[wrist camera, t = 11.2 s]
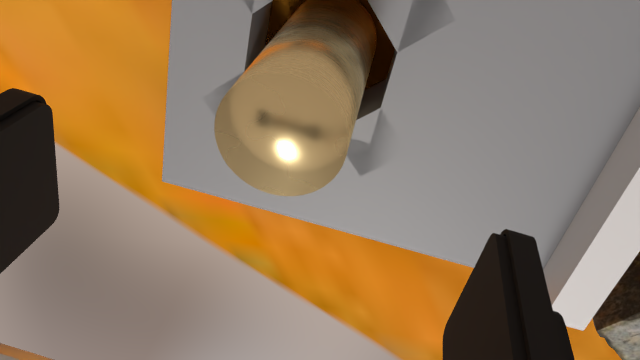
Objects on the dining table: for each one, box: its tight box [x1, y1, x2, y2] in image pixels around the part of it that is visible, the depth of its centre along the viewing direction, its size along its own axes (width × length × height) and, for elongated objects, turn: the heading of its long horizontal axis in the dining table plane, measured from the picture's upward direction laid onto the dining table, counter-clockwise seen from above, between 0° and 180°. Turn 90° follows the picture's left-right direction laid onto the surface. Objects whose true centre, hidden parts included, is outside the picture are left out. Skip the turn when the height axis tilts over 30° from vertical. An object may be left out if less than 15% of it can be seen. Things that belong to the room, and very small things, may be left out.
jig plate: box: [162, 0, 640, 331], centre depth 19 cm, size 18×14×5 cm
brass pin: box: [214, 0, 377, 196], centre depth 18 cm, size 4×4×9 cm
